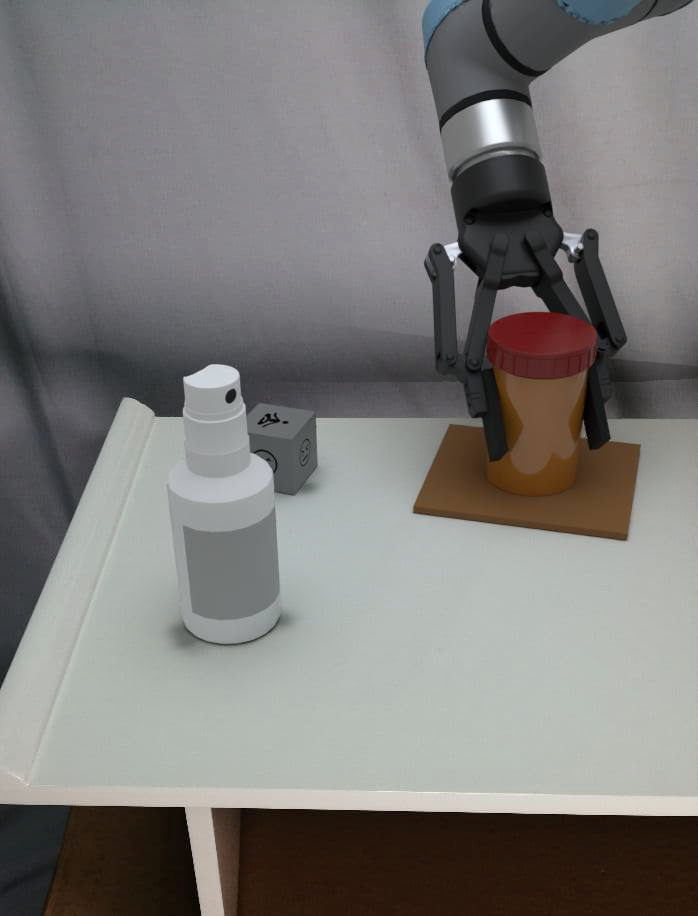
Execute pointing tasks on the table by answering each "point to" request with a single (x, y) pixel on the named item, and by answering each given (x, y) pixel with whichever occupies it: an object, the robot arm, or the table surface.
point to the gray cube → (284, 443)
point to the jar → (539, 433)
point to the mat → (574, 510)
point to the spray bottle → (223, 516)
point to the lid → (541, 344)
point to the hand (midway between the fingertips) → (549, 450)
